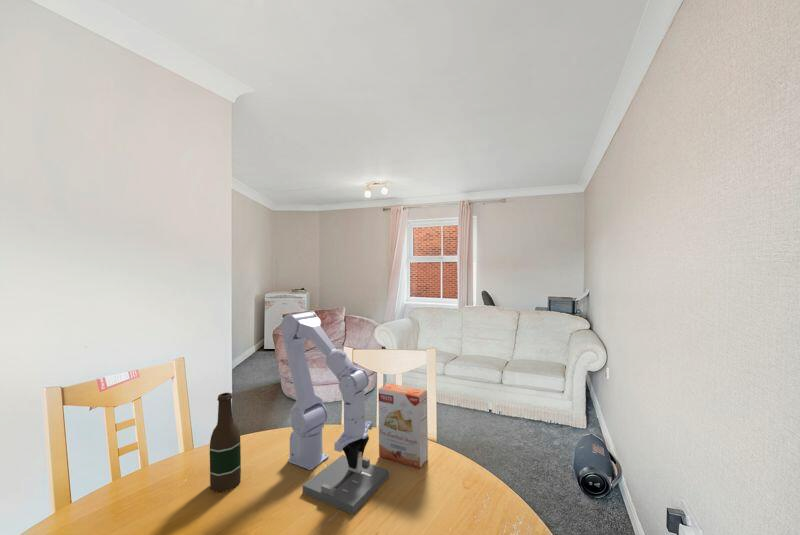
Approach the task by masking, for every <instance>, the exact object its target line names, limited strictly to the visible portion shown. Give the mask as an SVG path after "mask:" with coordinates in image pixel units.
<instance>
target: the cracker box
mask: <svg viewBox="0 0 800 535" xmlns="http://www.w3.org/2000/svg"><path fill="white" fill-rule="evenodd" d="M377 390H378V392H377V393H378V456H379V457H382V458H385V459H388V460H392V461H395V462H398V463H401V464H404V465H408V466H410V467H414V468H416V469H421V468H422V467H423V465H424V464H425V463H426V462H427V461H428V459H429V450H428V447H429V442H428V440H429V439H428V438H429V437H428V436H429V435H428V434H429V432H428V425H429V424H428V390H425V389H419V388H415V387H409V386H404V385H403V386H402V385H398V384H393V383H386V384H384V385H383V386H381V387H379V388H378V389H377Z"/></svg>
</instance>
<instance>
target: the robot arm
mask: <svg viewBox="0 0 800 535" xmlns="http://www.w3.org/2000/svg"><path fill="white" fill-rule="evenodd" d="M321 325H322V324H321V318H319V317H318V315H317V313H315V311H312V310H308V311H306V312H300V313H294V314H286V315H285V316H284V317H283V319H282V320H281V323H280V324H279V326H280V331H281V335H282V339H283V344H284V349H285V353H286V358H287V363H288V367H289V373H290V376H291V381H292V386H293V389H294V394H295V399H296V401H295V403H294V404H293V406H292V407H291V409H290V415H291V419H290V420H291V421H290V426H291V428H292V431H291V433H290V436H289V458H288V459H287V462H288V463H290V464H293V465H295V466H298V467H301V468H303V469H307V470H309V471H312V470H313V469H315V468H316V467H317V466H319V465H321V464H322V463H323V462H324V461H325V460H327V459H328V458H329V456H330V455H329V454H327V453H324V452H323V448H324V447H323V429H324V427H325V423H327V420H328V418H329V414H328V410H327V407H326V406H325V405H324V401H323V398H322V397H320V396H318V395H316V393H315V390H314V385H313V380H312V377H311V373H310V368H309V365H308V360H307V356H306V350H305V346H304V344H305V342H306V341H307V339H310V341H311V342H312V343H313V344H314V345H315V346H316V347H317V348H318V350H319V351H320V352H321V353H322V354H323V355H324V357H325V364H326V366H327V367H328V368H329V369H330V371H331V373H332V374H333V375H334V376H335V378H336V379H337V380H338V382H339V383H338V389H339V391H340V393H341V399H342V401H343V432H342V433H341V435H340V436H339V438H338V439H337V440H336V441H335V442H334V447H333V448H334V451H335V452H338V453H341V452H344V456H346V458H347V461H348V465H349V467H350V468H353V469H355V468H356V467H357V457H358V451H361V452H362V457H364V452H365V449H366V446H367V444H368V442H369V439H370V437H369V433H368V431H369V430H371V431H372V429H373V421H370V420H366V402H365V400H366V396H365V392H366V390H365V389H366V388H367V387H369V382H370V380H369V376H368V373H367V372H366V370H365V369H363V368H359V367H358V366H355V365H354V363H353V362H352V360H351V359H350V357H348V355H347V353H346V352H345V351H344V350H342V349H338V348H336V346H335V345H334V344H333V342H332V341H331V340H330V337H328V335H327V334H326V331H325V330H324V329H323V328H322V326H321Z"/></svg>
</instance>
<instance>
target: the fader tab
mask: <svg viewBox="0 0 800 535" xmlns="http://www.w3.org/2000/svg"><path fill="white" fill-rule="evenodd" d="M348 470H350V471H353V472H356V473H360V472H361V471H362V452H361V451H358V457H357V467H356V468H355V469H353V468H350V467H349V465H348Z"/></svg>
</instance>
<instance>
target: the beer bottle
mask: <svg viewBox="0 0 800 535" xmlns="http://www.w3.org/2000/svg"><path fill="white" fill-rule="evenodd" d="M232 399H233V393H231V392H222V393H220V394H219V395H218V396H217V401H218V406H217V407H218V408H217V422H216V425H215V427H214V428H213V430H212V434H211V435H210V440H209V484H210V485H209V486H210V487H209V488H210V491H212V490H214V491H213V492H215V491H217V492H216V493H219V492H220V493H224V492H227V491H226V490H228V491H231V490H230V489H232V488H233V489H234V488H235V486H236V485H237V486H238V485H239V483H241V474H242V465H241V464H242V462H241V461H242V460H241V459H242V458H241V457H242V456H241V452H242V450H241V448H242V446H241V445H242V444H241V430H240V428H239V426H238V425H237V423H236V422H235V421H234V417H233V404H232ZM237 486H236V487H237ZM233 489H232V490H233ZM223 491H224V492H223Z"/></svg>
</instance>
